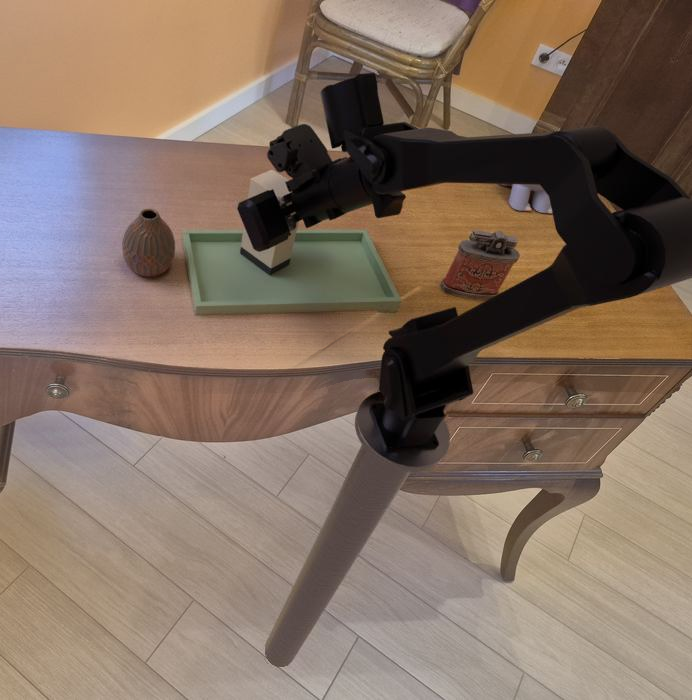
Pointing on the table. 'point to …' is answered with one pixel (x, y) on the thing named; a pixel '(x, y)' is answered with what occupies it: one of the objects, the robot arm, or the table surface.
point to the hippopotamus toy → (521, 198)
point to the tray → (288, 275)
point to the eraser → (282, 252)
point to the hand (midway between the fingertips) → (263, 217)
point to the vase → (148, 244)
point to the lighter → (481, 265)
